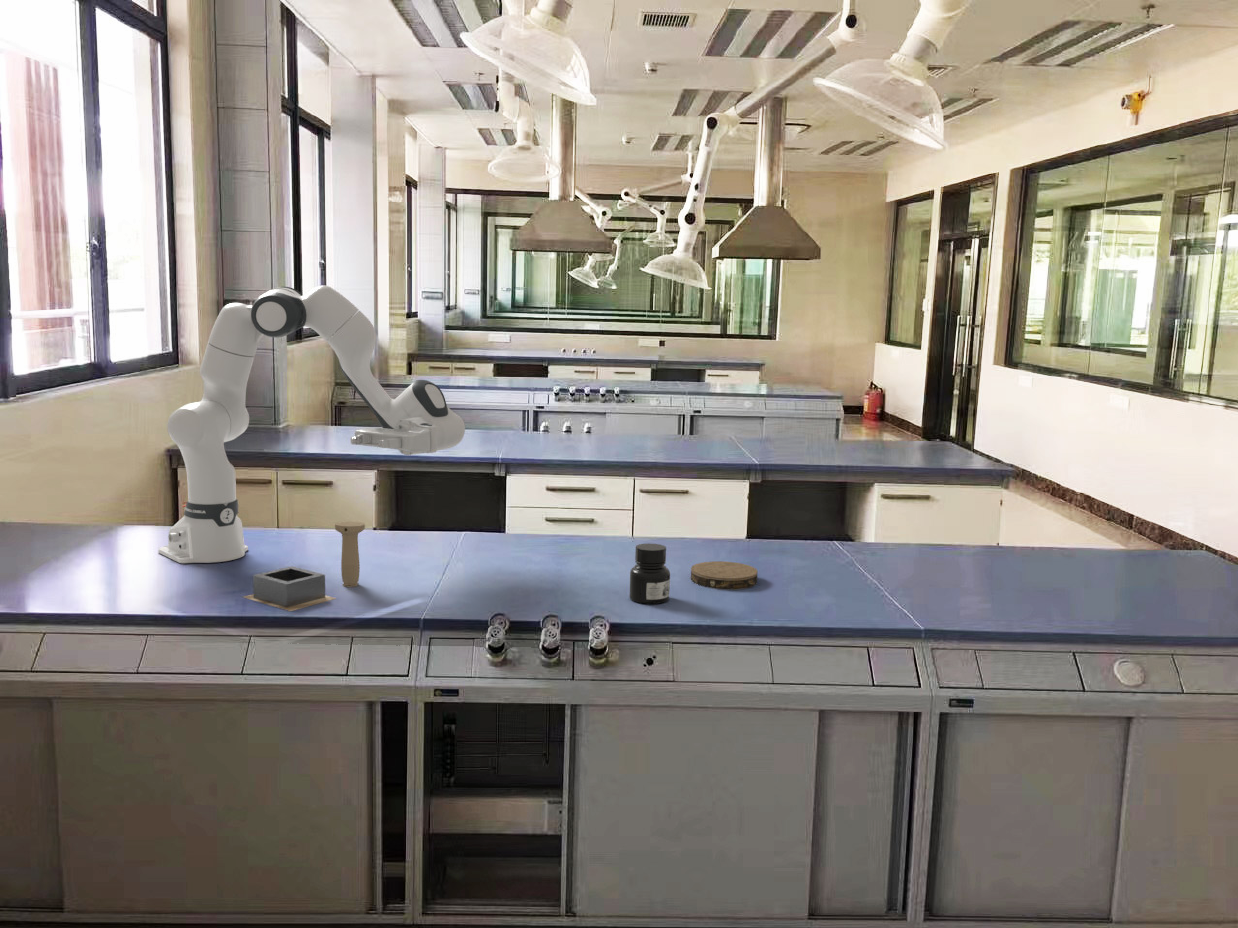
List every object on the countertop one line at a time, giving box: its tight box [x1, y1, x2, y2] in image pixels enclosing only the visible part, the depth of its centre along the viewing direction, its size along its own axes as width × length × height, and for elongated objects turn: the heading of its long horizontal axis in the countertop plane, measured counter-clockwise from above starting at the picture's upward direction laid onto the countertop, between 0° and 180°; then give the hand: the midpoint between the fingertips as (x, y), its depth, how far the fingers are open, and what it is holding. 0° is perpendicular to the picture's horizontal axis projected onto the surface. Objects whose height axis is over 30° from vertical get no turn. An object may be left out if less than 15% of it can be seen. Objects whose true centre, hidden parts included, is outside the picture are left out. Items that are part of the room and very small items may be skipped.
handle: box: [334, 521, 366, 588], centre depth 234 cm, size 5×6×15 cm
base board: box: [243, 593, 338, 612], centre depth 224 cm, size 16×12×1 cm
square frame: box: [252, 565, 326, 608], centre depth 224 cm, size 11×10×5 cm
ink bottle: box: [629, 542, 671, 605], centre depth 233 cm, size 10×9×12 cm
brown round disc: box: [690, 560, 758, 591], centre depth 251 cm, size 16×16×3 cm
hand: (366, 442), depth 240 cm, fingers open, 8 cm apart
